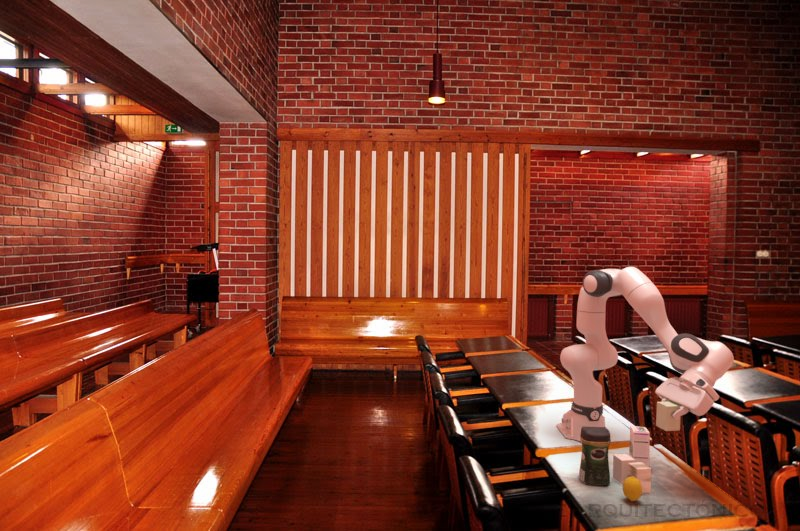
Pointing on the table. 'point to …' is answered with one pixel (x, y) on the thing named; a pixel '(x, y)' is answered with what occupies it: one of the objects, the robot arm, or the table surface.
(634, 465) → the pink tall block
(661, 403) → the beige rectangular block
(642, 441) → the syrup box
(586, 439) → the coffee jar
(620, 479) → the pink rectangular block
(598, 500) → the table surface
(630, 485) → the lemon
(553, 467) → the table surface
